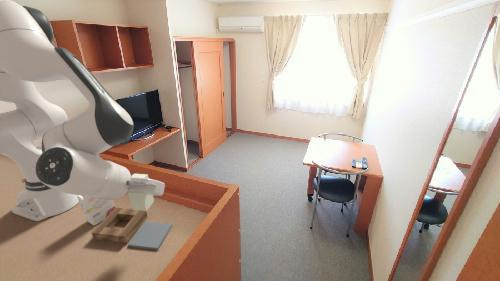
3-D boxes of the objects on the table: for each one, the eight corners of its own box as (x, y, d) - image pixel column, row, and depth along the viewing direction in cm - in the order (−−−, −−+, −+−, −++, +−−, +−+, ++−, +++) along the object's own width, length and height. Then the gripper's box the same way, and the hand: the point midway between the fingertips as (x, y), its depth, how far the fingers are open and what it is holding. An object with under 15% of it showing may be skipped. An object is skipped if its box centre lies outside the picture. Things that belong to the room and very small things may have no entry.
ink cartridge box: (110, 207, 90) (99, 175, 84) (117, 212, 87) (106, 179, 81) (86, 221, 83) (72, 187, 77) (93, 226, 81) (80, 192, 75)
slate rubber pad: (128, 246, 73) (128, 244, 73) (145, 223, 82) (145, 221, 82) (158, 249, 72) (157, 248, 71) (172, 225, 81) (172, 224, 80)
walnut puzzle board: (94, 239, 76) (91, 232, 74) (118, 213, 86) (116, 207, 85) (127, 243, 74) (125, 236, 73) (147, 216, 85) (146, 210, 84)
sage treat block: (132, 209, 70) (124, 182, 66) (141, 200, 74) (134, 173, 70) (146, 210, 69) (139, 183, 65) (154, 201, 73) (147, 174, 69)
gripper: (152, 171, 57) (175, 181, 69) (78, 166, 59) (113, 177, 72) (146, 197, 54) (171, 203, 67) (69, 191, 57) (107, 197, 70)
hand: (141, 189), depth 70 cm, fingers closed on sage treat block, 4 cm apart
